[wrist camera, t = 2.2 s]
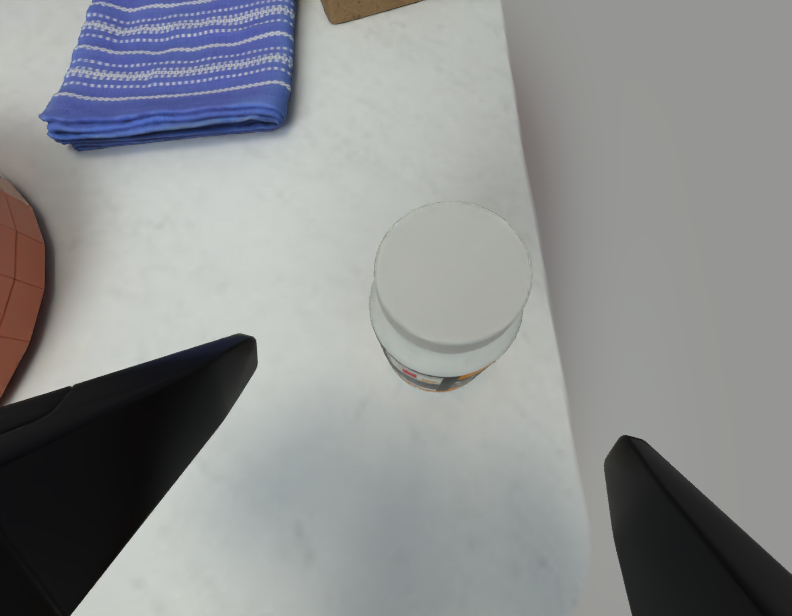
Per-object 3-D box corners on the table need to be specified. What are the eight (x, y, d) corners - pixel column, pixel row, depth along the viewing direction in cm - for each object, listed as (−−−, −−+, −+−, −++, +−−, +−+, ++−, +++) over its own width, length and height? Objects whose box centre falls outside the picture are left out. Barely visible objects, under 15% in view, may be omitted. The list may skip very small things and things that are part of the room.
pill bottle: (467, 409, 18) (522, 400, 9) (369, 369, 19) (323, 322, 10) (499, 313, 20) (574, 217, 10) (406, 281, 21) (397, 165, 11)
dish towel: (62, 161, 25) (20, 130, 22) (123, -46, 32) (96, -88, 30) (294, 140, 24) (279, 106, 22) (303, -66, 32) (292, -111, 29)
